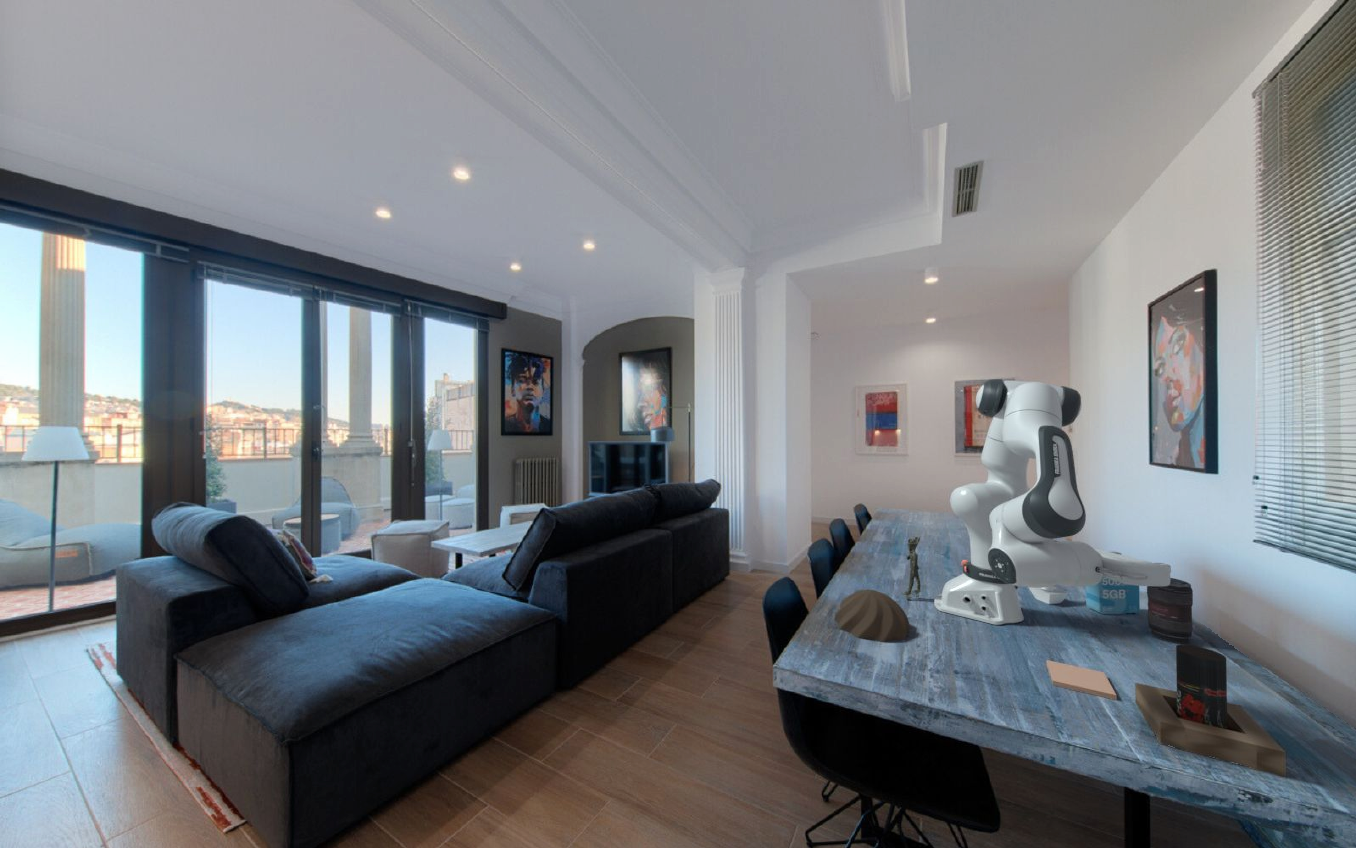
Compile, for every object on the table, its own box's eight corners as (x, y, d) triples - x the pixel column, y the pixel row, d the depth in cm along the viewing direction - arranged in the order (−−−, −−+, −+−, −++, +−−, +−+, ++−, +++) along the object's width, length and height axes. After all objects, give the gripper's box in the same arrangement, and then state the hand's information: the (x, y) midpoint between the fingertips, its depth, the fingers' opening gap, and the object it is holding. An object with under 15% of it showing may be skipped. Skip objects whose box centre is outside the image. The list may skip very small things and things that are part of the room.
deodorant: (1238, 749, 77) (1237, 662, 77) (1197, 744, 79) (1195, 659, 79) (1206, 726, 83) (1204, 646, 83) (1167, 722, 84) (1166, 643, 84)
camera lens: (1150, 639, 117) (1149, 581, 117) (1145, 628, 123) (1144, 573, 123) (1197, 648, 112) (1196, 588, 112) (1189, 636, 118) (1188, 579, 118)
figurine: (1024, 597, 145) (1024, 551, 145) (1049, 595, 147) (1048, 549, 147) (1046, 606, 138) (1046, 558, 138) (1072, 604, 140) (1071, 556, 140)
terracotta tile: (1053, 685, 97) (1053, 680, 97) (1046, 664, 105) (1046, 660, 105) (1116, 700, 91) (1116, 695, 91) (1103, 676, 100) (1103, 672, 100)
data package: (1099, 614, 132) (1099, 574, 132) (1085, 608, 136) (1085, 569, 136) (1140, 614, 132) (1139, 573, 132) (1124, 607, 136) (1124, 568, 136)
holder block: (1160, 744, 79) (1160, 721, 79) (1135, 702, 91) (1135, 682, 91) (1285, 777, 71) (1285, 752, 71) (1240, 727, 83) (1240, 705, 83)
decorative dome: (839, 607, 140) (838, 575, 140) (910, 619, 131) (910, 585, 131) (829, 633, 123) (828, 596, 123) (910, 649, 113) (910, 609, 114)
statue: (897, 596, 148) (896, 535, 148) (916, 595, 148) (915, 535, 148) (905, 601, 143) (904, 539, 143) (924, 601, 143) (923, 538, 143)
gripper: (1125, 561, 82) (1200, 559, 82) (1034, 537, 102) (1094, 536, 102) (1128, 596, 82) (1202, 594, 82) (1036, 565, 102) (1096, 564, 102)
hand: (1141, 561), depth 92 cm, fingers open, 8 cm apart
